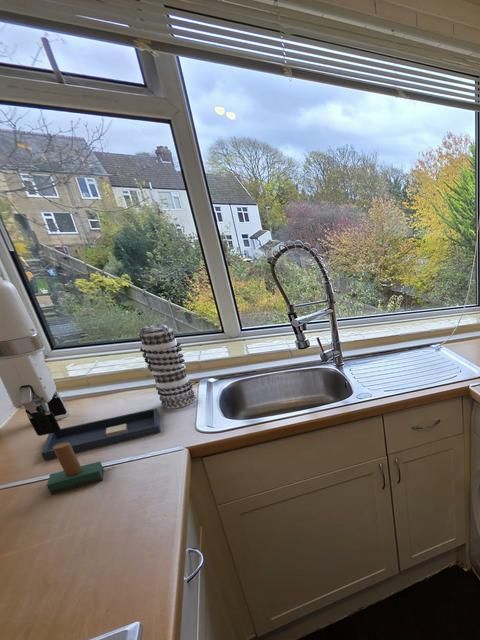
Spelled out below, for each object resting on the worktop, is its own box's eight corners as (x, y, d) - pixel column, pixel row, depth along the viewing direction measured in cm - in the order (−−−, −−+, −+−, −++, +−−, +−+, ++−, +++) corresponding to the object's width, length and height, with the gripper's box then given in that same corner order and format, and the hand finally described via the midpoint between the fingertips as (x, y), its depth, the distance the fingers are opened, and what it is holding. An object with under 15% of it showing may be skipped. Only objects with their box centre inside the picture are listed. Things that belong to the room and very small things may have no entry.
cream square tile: (107, 437, 106) (105, 433, 106) (108, 431, 109) (106, 427, 109) (127, 433, 109) (125, 429, 108) (127, 427, 112) (126, 423, 111)
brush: (51, 494, 86) (31, 457, 82) (54, 483, 90) (35, 446, 86) (102, 480, 91) (86, 444, 87) (104, 470, 94) (88, 434, 91)
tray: (45, 462, 97) (41, 453, 96) (54, 439, 106) (49, 430, 105) (161, 434, 110) (158, 425, 109) (159, 415, 119) (156, 407, 118)
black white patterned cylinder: (197, 406, 125) (172, 328, 115) (159, 413, 120) (129, 332, 111) (199, 396, 132) (176, 321, 122) (163, 402, 128) (135, 324, 118)
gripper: (-5, 339, 82) (34, 414, 89) (-30, 362, 70) (18, 447, 77) (48, 332, 86) (82, 404, 93) (33, 353, 74) (73, 434, 81)
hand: (53, 423), depth 85 cm, fingers open, 9 cm apart
